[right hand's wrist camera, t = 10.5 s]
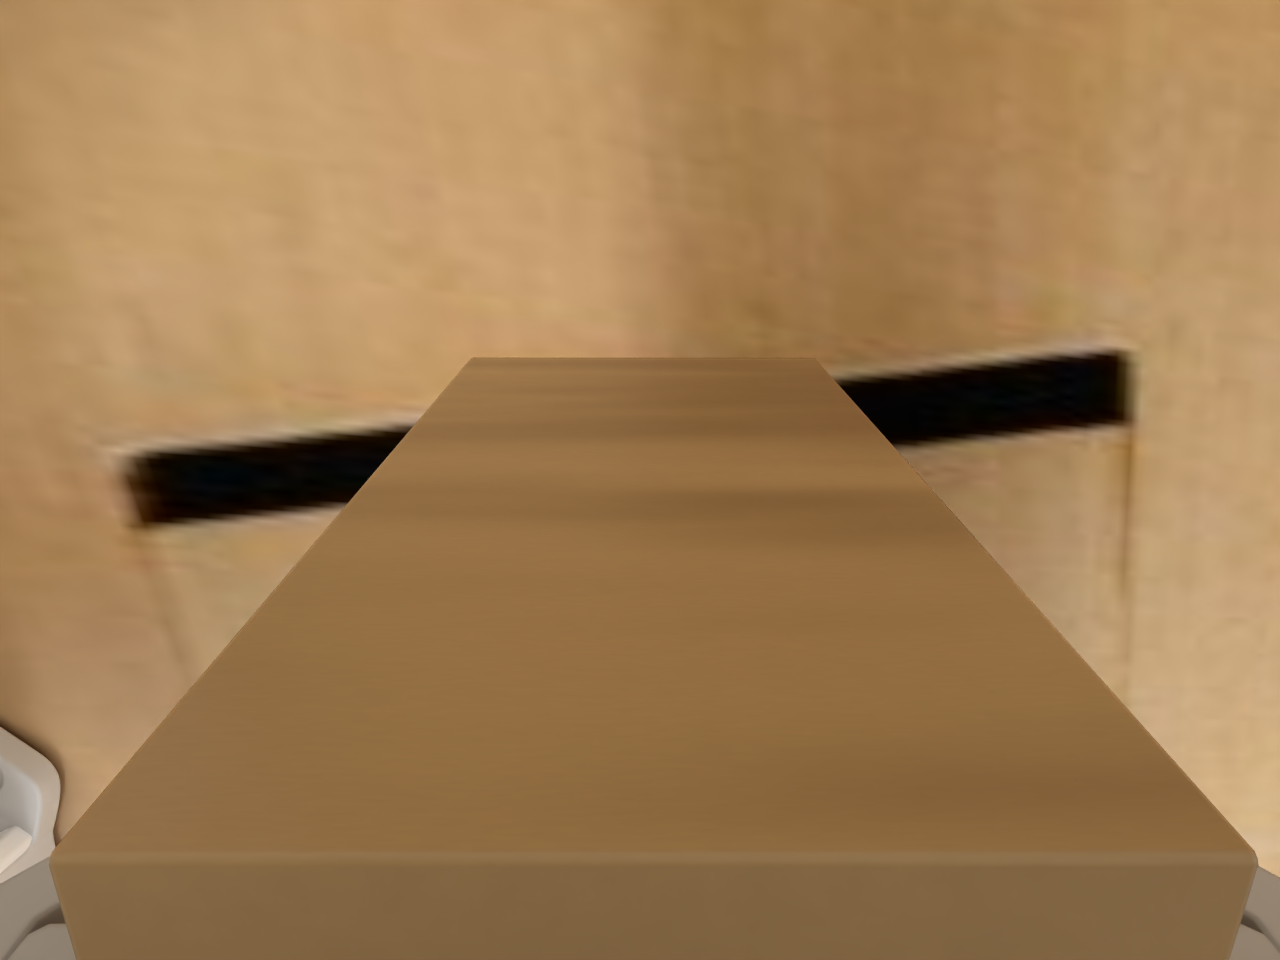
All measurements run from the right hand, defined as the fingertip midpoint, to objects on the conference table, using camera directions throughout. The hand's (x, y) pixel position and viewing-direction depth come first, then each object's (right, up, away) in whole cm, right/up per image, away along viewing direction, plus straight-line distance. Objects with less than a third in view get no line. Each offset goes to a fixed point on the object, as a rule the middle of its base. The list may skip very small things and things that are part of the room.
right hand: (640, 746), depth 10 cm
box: (0, -5, +9) cm, 10 cm away
